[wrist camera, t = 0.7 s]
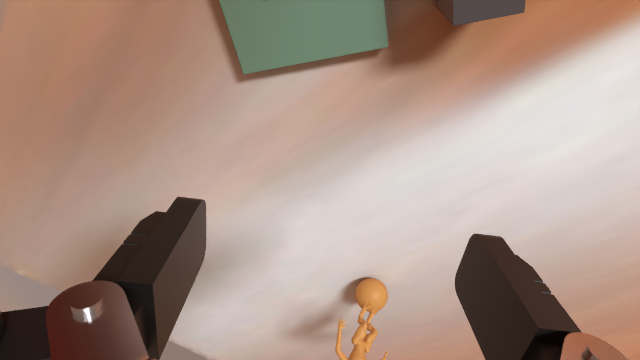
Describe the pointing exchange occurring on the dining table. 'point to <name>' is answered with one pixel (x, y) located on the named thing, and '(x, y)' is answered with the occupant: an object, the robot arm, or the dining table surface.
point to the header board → (302, 30)
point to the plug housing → (478, 9)
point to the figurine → (370, 299)
